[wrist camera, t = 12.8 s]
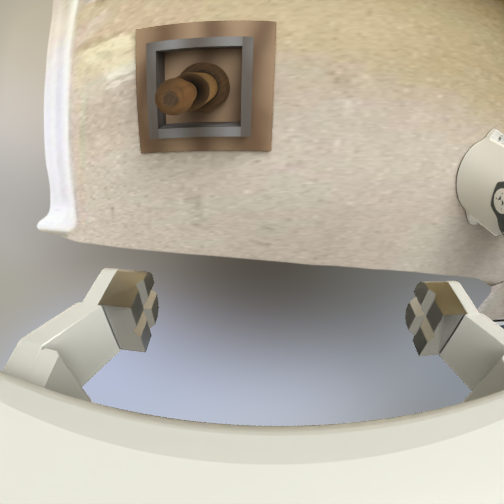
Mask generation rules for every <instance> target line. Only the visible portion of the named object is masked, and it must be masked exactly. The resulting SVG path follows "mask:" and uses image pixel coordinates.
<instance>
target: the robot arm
mask: <svg viewBox="0 0 504 504" xmlns="http://www.w3.org/2000/svg"><path fill="white" fill-rule="evenodd" d="M457 194H458V198H459V201H460V203H461V204H462V206H463V207H464V209H465V210H466V215H467V220H468V222H469V223H470V224H472V225H477V224H481V225H482V226H483V227H485V228H486V229H487V230H488V231H490V232H491V233H492V234H493V235H495V236H498V235H504V134H502V133H501V132H500V131H498V130H497V129H492V130H491V131H490V132H489V133H488V134H487V136H486V137H485V138H484V139H483V140H481V141H479V142H478V143H476V144H475V145H473V146H472V147H471V148H470V149H469V151H468V152H467V153H466V155H465V156H464V158H463V160H462V162H461V165H460V168H459V171H458V176H457ZM153 284H154V280H153V275H152V273H150V272H147V271H136V270H125V269H112V268H105V269H103V270H102V271H101V273H100V274H99V276H98V277H97V279H96V280H95V282H94V284H93V285H92V287H91V289H90V290H89V292H88V293H87V295H86V297H85V298H84V300H83V302H82V303H76V304H75V305H73V306H71V307H70V308H68V309H67V310H65V311H63V312H62V313H60V314H59V315H57V316H56V317H54V318H53V319H51V320H49V321H48V322H46V323H45V324H43V325H42V326H40V327H39V328H37V329H35V330H34V331H32V332H31V333H29V334H28V335H26V336H25V337H23V338H22V339H20V341H19V343H18V344H17V346H16V348H15V350H14V351H13V353H12V355H11V357H10V358H9V361H8V362H7V364H6V366H5V368H4V370H3V371H0V504H504V329H503V328H501V327H500V326H499V325H497V324H496V323H495V322H493V321H492V320H491V319H489V318H488V317H487V316H485V315H484V314H483V313H479V312H478V311H477V309H476V308H475V306H474V304H473V303H472V301H471V300H470V298H469V296H468V295H467V293H466V292H465V290H464V289H463V287H462V286H461V284H460V283H459V282H457V281H444V282H420V283H418V284H417V286H416V288H415V290H414V293H415V298H413V299H412V300H411V301H410V302H409V304H408V306H407V309H406V315H405V319H406V325H407V327H408V330H409V331H411V332H412V333H413V334H414V338H413V342H414V345H415V347H416V350H417V352H418V355H419V356H427V355H436V354H440V355H439V356H440V357H441V358H442V359H443V360H444V361H445V362H446V363H447V364H448V365H449V366H450V367H451V369H453V371H454V372H455V373H456V374H457V375H458V376H459V377H460V378H461V379H462V380H463V382H464V383H465V384H466V385H467V386H468V387H469V388H470V389H471V390H472V392H471V393H470V394H469V395H468V396H467V397H466V398H465V400H464V402H463V403H459V404H456V405H452V406H448V407H444V408H440V409H435V410H430V411H426V412H421V413H415V414H410V415H405V416H399V417H392V418H386V419H379V420H371V421H363V422H353V423H342V424H329V425H310V426H250V425H231V424H216V423H206V422H196V421H187V420H180V419H173V418H166V417H160V416H153V415H148V414H142V413H137V412H132V411H127V410H122V409H118V408H113V407H109V406H104V405H101V404H97V403H93V402H91V400H90V398H89V397H88V395H87V394H86V392H85V391H84V390H83V388H82V386H83V385H84V384H85V383H86V382H87V381H89V379H91V377H93V376H94V375H95V374H96V373H97V372H98V371H99V370H100V369H101V368H102V367H103V366H104V365H105V364H106V363H108V361H110V360H111V359H112V358H113V357H114V356H115V355H116V354H117V353H118V352H119V351H120V349H122V350H131V351H139V352H146V350H147V347H148V344H149V341H150V338H151V332H150V329H149V328H151V327H152V326H153V325H155V323H156V320H157V317H158V308H159V307H158V298H157V294H156V293H155V292H154V291H153V290H152V287H153Z"/></svg>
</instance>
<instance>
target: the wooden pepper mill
mask: <svg viewBox="0 0 504 504" xmlns="http://www.w3.org/2000/svg"><path fill="white" fill-rule="evenodd" d="M229 91H230V83H229V79H228V76H227V75H226V73H225V72H224V71H223V70H222V69H221V68H220V67H219V66H217V65H215V64H212V63H206V62H201V63H195V64H192V65H190V66H189V67H187V68H186V69H185V70H184V71H183V72H182V73H181V74H180V75H179V76H177V77H176V78H171V79H168V80H166V81H164V82H163V83H162V84H161V85H160V86H159V87H158V89H157V91H156V93H155V103H156V105H157V107H158V109H159V110H160V111H161V112H163V113H165V114H167V115H180V114H182V113H184V112H186V111H195V112H209V111H212V110H215V109H217V108H218V107H219V106H221V105H222V104H223V103H224V102H225V100H226V99H227V97H228V95H229Z"/></svg>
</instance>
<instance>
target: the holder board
mask: <svg viewBox="0 0 504 504" xmlns="http://www.w3.org/2000/svg"><path fill="white" fill-rule="evenodd" d="M275 45H276V22H271V21H206V22H191V23H180V24H171V25H163V26H155V27H149V28H142V29H136V86H137V107H138V122H139V135H140V147H141V153H152V152H172V151H205V150H246V151H271V142H272V120H273V97H274V73H275ZM201 62H206V63H212V64H215V65H217V66H219V67H220V68H221V69H222V70H223V71H224V72H225V73H226V75H227V76H228V79H229V83H230V91H229V95H228V97H227V99H226V100H225V102H224V103H223V104H222V105H221V106H219V107H218V108H217V109H215V110H212V111H209V112H195V111H186V112H184V113H182V114H180V115H167V114H165V113H163V112H161V111H160V110H159V109H158V107H157V105H156V103H155V93H156V91H157V89H158V87H159V86H160V85H161V84H162V83H163V82H164V81H166V80H168V79H171V78H176V77H177V76H179V75H180V74H181V73H182V72H183V71H184V70H185V69H186V68H187V67H189V66H190V65H192V64H195V63H201Z"/></svg>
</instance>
